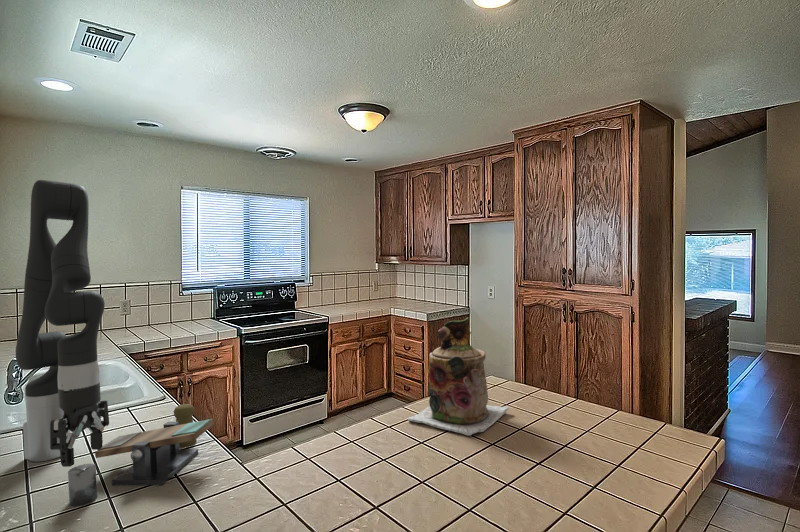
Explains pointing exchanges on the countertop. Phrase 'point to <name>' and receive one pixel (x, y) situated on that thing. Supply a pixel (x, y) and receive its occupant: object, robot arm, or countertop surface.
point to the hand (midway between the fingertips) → (82, 457)
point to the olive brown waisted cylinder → (184, 420)
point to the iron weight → (82, 485)
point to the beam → (155, 437)
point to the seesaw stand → (154, 463)
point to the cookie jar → (458, 385)
